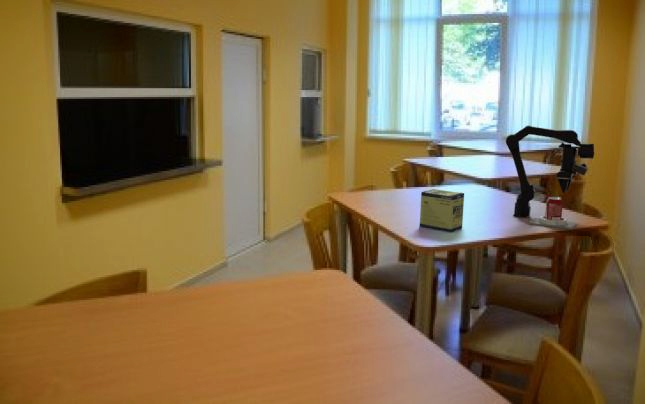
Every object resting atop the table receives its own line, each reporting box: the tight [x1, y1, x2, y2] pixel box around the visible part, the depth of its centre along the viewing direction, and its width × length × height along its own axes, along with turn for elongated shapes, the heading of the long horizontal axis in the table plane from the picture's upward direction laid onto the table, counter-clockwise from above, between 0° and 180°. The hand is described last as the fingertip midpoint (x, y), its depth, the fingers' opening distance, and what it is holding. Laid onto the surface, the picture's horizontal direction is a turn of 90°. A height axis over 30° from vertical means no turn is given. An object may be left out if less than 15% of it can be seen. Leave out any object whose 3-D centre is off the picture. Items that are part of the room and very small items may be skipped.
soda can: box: [544, 196, 564, 221], centre depth 261 cm, size 7×7×12 cm
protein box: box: [419, 189, 465, 233], centre depth 251 cm, size 10×16×16 cm
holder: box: [528, 215, 577, 231], centre depth 261 cm, size 18×12×3 cm, turn 59°
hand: (565, 191), depth 271 cm, fingers open, 9 cm apart
